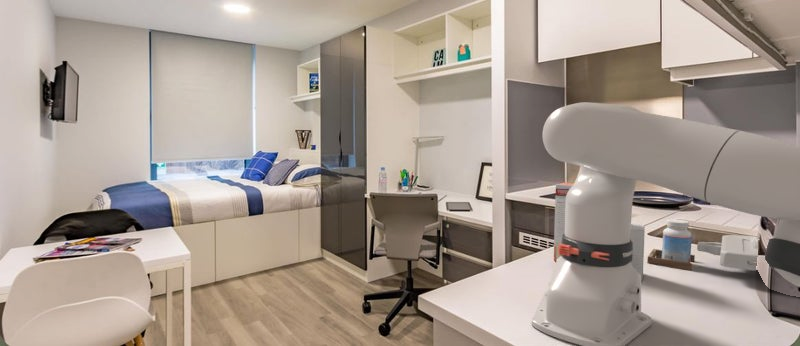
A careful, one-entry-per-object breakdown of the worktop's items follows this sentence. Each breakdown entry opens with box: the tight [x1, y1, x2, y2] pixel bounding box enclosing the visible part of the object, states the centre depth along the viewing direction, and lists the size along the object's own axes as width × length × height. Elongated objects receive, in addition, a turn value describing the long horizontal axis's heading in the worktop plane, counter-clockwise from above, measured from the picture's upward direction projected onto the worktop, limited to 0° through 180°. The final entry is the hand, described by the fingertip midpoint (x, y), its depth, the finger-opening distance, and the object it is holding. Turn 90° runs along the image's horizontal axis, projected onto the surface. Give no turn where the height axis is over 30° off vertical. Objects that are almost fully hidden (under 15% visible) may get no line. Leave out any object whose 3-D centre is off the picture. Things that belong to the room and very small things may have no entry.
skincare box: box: [630, 223, 646, 282], centre depth 93 cm, size 6×4×12 cm
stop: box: [647, 248, 696, 271], centre depth 104 cm, size 10×9×2 cm
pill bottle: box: [661, 218, 693, 263], centre depth 102 cm, size 6×6×11 cm
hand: (697, 246), depth 100 cm, fingers closed
